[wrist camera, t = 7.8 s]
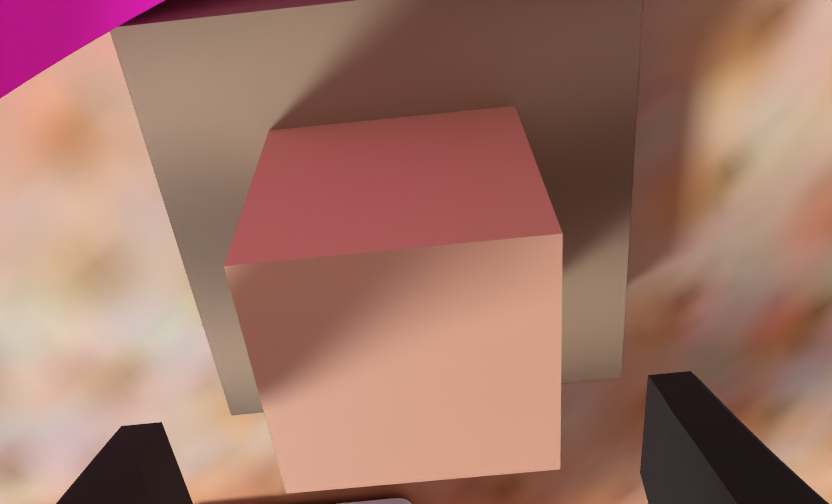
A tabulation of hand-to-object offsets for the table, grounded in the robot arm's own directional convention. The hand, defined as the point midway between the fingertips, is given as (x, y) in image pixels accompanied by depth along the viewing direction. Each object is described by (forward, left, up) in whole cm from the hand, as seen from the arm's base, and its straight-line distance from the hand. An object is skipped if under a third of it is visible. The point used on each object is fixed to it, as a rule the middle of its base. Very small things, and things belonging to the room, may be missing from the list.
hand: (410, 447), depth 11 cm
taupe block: (0, 0, -9) cm, 9 cm away
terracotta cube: (0, 0, -6) cm, 6 cm away
